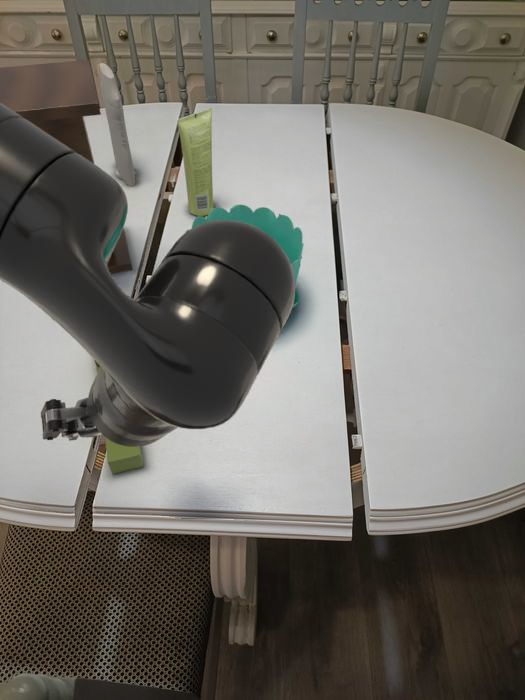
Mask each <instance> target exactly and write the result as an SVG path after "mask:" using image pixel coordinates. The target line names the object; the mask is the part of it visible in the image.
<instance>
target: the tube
mask: <svg viewBox="0 0 525 700" xmlns="http://www.w3.org/2000/svg"><path fill="white" fill-rule="evenodd" d="M212 123H213V109H212V107H209V108H207V109H204V110H201V111H198V112H196V113H193V114H190V115H186V116H183V117H181V118H178V119H177V127H178V132H179V139H180V144H181V145H180V146H181V152H182V160H183V168H184V175H185V187H186V192H187V193H186V194H187V204H188V205H187V206H188V211H189V213H190V214H192V215H195V216H196V217H198V216H202V217H204V216H208V214H209V212H210V211H211V210H213V209H214V188H213V184H214V183H213V140H212V139H213V138H212V137H213V125H212Z"/></svg>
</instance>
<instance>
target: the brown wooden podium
mask: <svg viewBox="0 0 525 700" xmlns="http://www.w3.org/2000/svg"><path fill="white" fill-rule="evenodd" d="M0 103H2V104H3V105H5V106H7V107H8V108H10V109H11V110H13V111H14V112H16V113H17V114H19V115H21V116H22V117H24V118H25V119H27V120H28V121H30V122H31V123H33V124H34V125H36V126H37V127H39V128H40V129H42V130H43V131H45V132H46V133H48V134H49V135H51V136H52V137H54V138H56V139H57V140H59V141H60V142H62V143H63V144H65V145H66V146H68V147H69V148H71V149H72V150H74V151H75V152H76V153H77V154H79V155H81V156H83V157H84V158H86V159H87V160H89V161H90V162H92V163H93V164H95V160H94V156H93V152H92V151H93V150H92V146H91V142H90V138H89V133H88V130H87V125H86V120H85V117H91V116H100V115H102V113H101V109H100V103H99V98H98V95H97V91H96V85H95V81H94V76H93V72H92V68H91V63H90V60H89V59H83V60H69V61H62V62H61V61H60V62H58V61H57V62H49V63H38V64H37V63H35V64H25V65H14V66H13V65H12V66H3V67H0ZM107 267H108V270H109V271H110V273H111V274H116V273H121V272H128V271H133V265H132V261H131V256H130V251H129V247H128V242H127V238H126V233H125V229H124V227H123V230H122V233H121V235H120V238H119V240H118V242H117V244H116V246H115V248H114V251H113V253H112V255H111V257H110V260H109V262H108V265H107Z"/></svg>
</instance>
